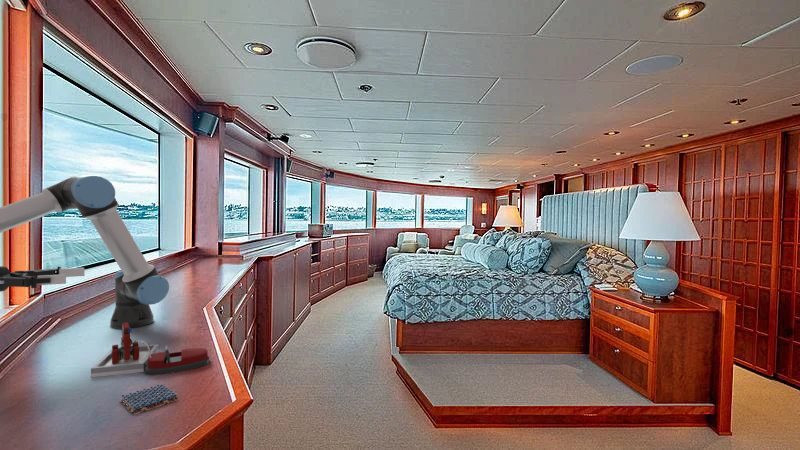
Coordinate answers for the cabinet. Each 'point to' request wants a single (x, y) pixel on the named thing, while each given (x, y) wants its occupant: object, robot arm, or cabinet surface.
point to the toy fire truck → (125, 346)
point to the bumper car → (175, 360)
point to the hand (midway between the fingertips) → (75, 275)
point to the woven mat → (149, 398)
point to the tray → (123, 363)
